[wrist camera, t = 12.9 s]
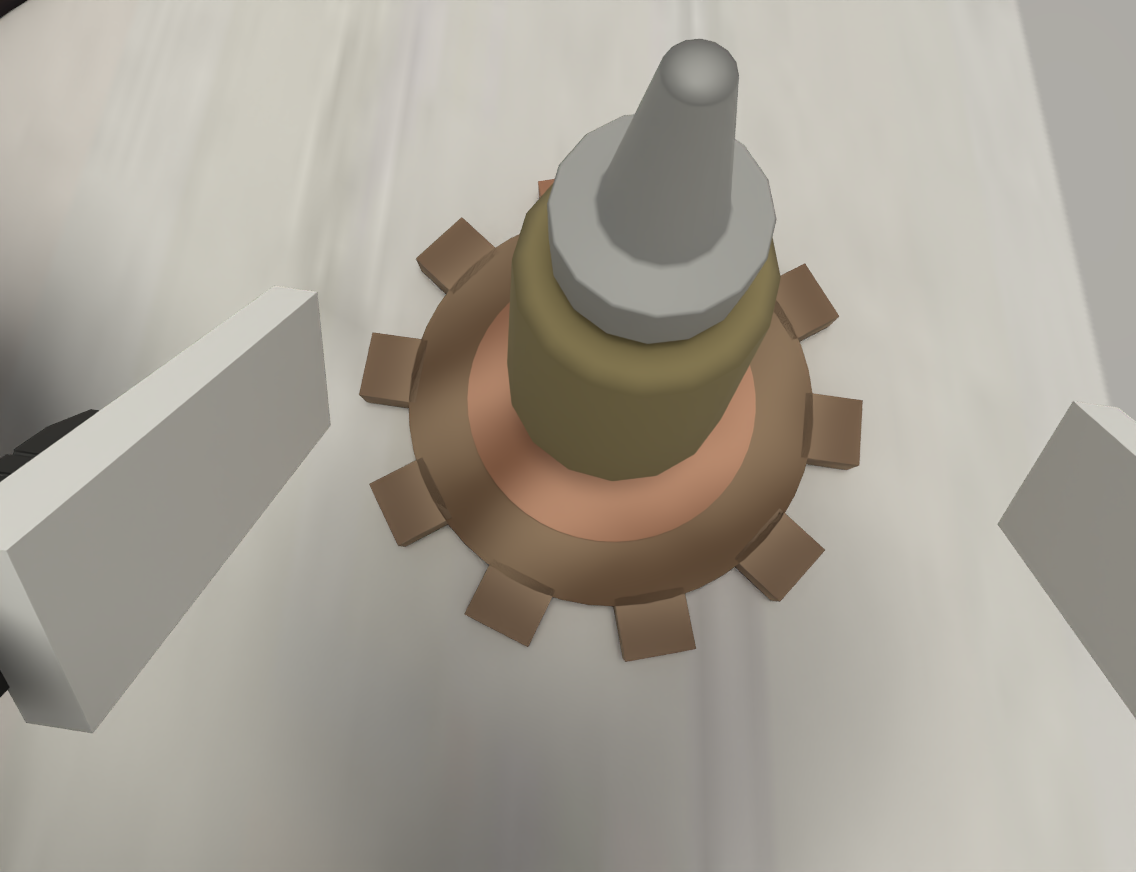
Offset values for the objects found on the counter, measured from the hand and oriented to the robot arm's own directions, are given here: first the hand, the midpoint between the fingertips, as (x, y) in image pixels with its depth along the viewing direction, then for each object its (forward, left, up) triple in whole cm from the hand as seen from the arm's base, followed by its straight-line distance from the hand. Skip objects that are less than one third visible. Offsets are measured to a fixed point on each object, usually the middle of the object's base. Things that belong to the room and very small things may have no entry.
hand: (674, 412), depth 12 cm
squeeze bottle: (-3, +3, -15) cm, 16 cm away
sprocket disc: (-3, +3, -16) cm, 17 cm away
